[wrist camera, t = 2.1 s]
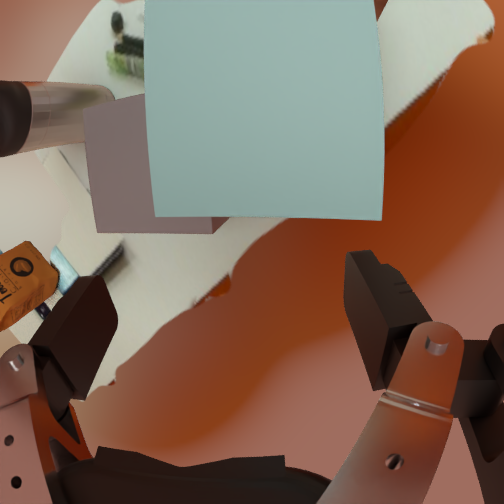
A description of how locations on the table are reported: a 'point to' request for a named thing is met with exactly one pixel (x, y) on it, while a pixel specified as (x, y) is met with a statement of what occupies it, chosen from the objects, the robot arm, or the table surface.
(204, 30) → the block
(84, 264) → the table surface
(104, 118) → the tall gray pillar
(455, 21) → the table surface
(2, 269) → the coffee package
